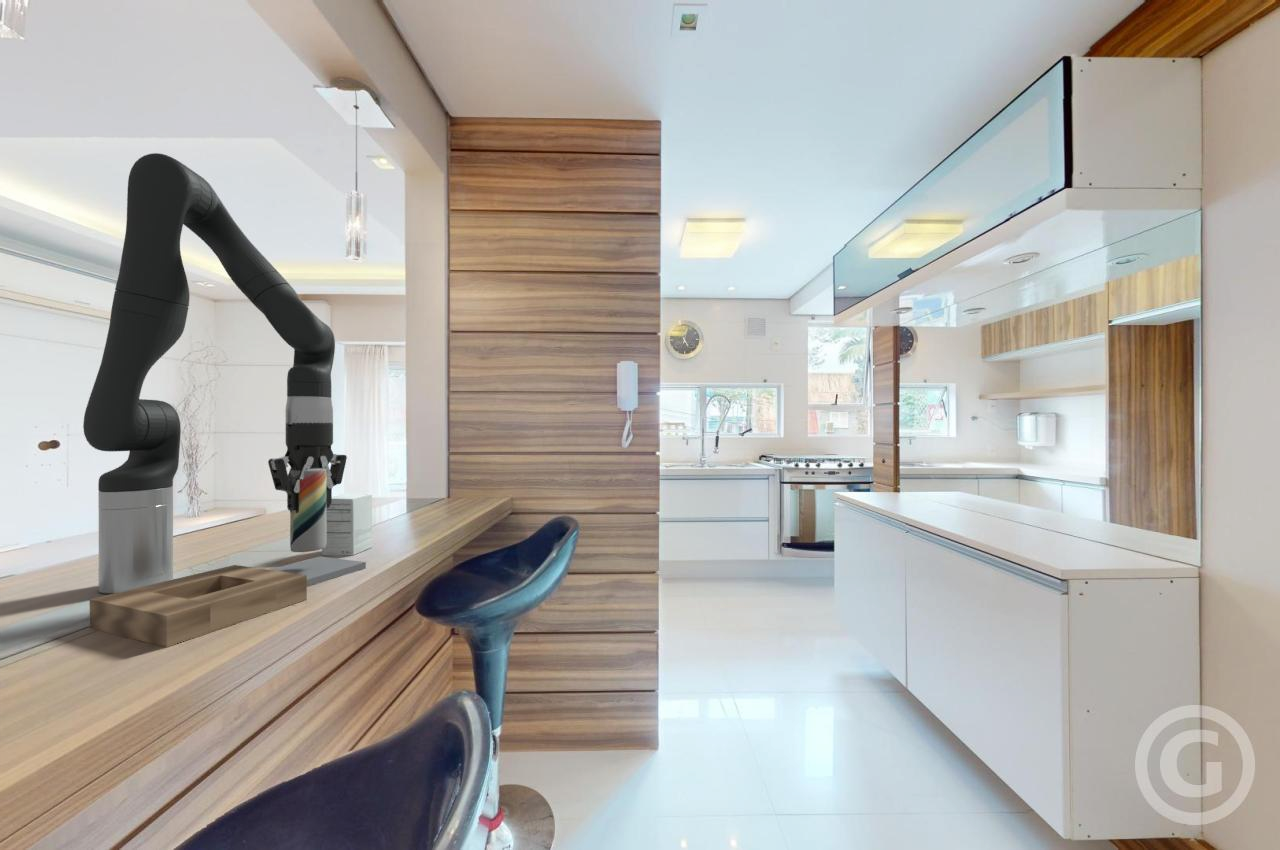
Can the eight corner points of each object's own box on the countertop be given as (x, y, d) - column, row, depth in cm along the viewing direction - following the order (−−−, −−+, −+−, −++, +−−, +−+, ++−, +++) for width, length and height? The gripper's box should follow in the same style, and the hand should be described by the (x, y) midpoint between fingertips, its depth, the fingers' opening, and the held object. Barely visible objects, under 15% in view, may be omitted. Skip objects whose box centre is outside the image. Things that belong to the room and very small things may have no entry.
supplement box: (343, 547, 114) (342, 493, 114) (373, 547, 113) (373, 493, 113) (320, 555, 106) (320, 498, 106) (352, 556, 106) (352, 498, 106)
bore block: (89, 627, 68) (89, 599, 68) (234, 587, 85) (234, 564, 85) (166, 647, 62) (166, 615, 62) (306, 599, 79) (306, 575, 79)
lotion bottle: (284, 550, 91) (284, 444, 92) (317, 544, 96) (317, 443, 96) (299, 554, 88) (299, 444, 89) (332, 547, 93) (332, 443, 93)
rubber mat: (250, 580, 89) (250, 574, 89) (319, 562, 101) (319, 556, 101) (300, 588, 84) (300, 581, 84) (365, 568, 96) (365, 562, 96)
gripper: (331, 421, 101) (331, 503, 101) (255, 421, 87) (256, 515, 87) (357, 421, 98) (358, 505, 98) (284, 420, 85) (284, 518, 85)
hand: (310, 509), depth 93 cm, fingers closed on lotion bottle, 5 cm apart
